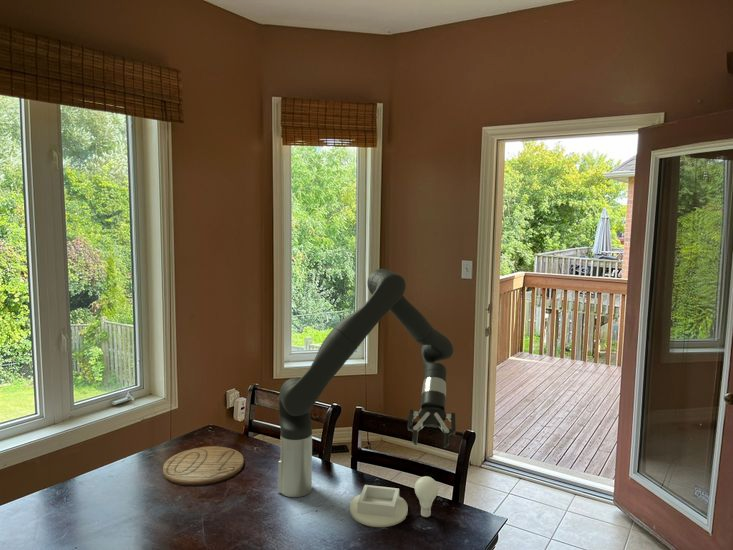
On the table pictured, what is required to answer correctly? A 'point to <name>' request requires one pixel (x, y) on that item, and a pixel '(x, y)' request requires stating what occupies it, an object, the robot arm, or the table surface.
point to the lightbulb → (426, 493)
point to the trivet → (203, 465)
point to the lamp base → (379, 506)
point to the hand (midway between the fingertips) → (430, 445)
